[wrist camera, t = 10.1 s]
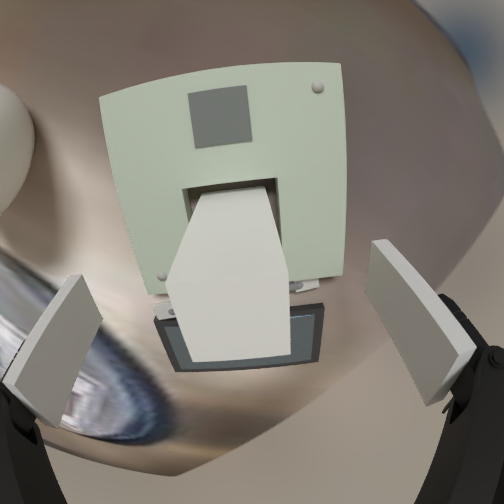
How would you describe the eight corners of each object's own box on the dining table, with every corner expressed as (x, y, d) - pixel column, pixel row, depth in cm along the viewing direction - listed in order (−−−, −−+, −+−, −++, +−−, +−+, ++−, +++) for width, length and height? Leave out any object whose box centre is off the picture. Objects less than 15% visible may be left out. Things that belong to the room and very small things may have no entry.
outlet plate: (153, 283, 21) (148, 295, 19) (109, 97, 14) (98, 97, 13) (336, 264, 21) (342, 275, 19) (332, 66, 14) (341, 63, 12)
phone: (177, 362, 26) (175, 372, 25) (156, 311, 23) (153, 321, 22) (315, 352, 26) (318, 362, 25) (321, 298, 23) (324, 308, 22)
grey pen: (160, 313, 22) (158, 321, 22) (155, 304, 22) (152, 311, 21) (317, 281, 21) (319, 287, 20) (315, 269, 21) (318, 276, 20)
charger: (212, 248, 20) (193, 363, 11) (202, 192, 18) (164, 284, 9) (269, 242, 20) (290, 355, 11) (264, 185, 18) (288, 271, 9)
